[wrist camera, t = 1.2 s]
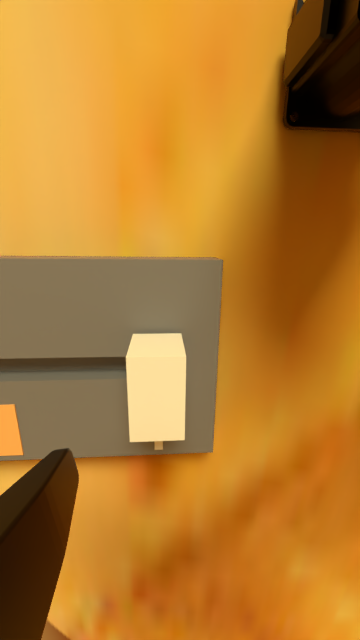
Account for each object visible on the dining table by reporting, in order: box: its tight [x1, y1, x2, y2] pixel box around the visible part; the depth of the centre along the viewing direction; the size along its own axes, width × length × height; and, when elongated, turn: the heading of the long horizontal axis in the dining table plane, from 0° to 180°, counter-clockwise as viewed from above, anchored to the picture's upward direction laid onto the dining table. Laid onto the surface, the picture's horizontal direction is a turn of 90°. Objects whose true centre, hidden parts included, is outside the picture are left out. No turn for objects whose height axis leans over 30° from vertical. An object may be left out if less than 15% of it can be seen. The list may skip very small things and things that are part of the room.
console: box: [0, 256, 223, 461], centre depth 19 cm, size 20×14×3 cm
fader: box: [126, 333, 186, 442], centre depth 17 cm, size 3×5×5 cm, turn 0°
